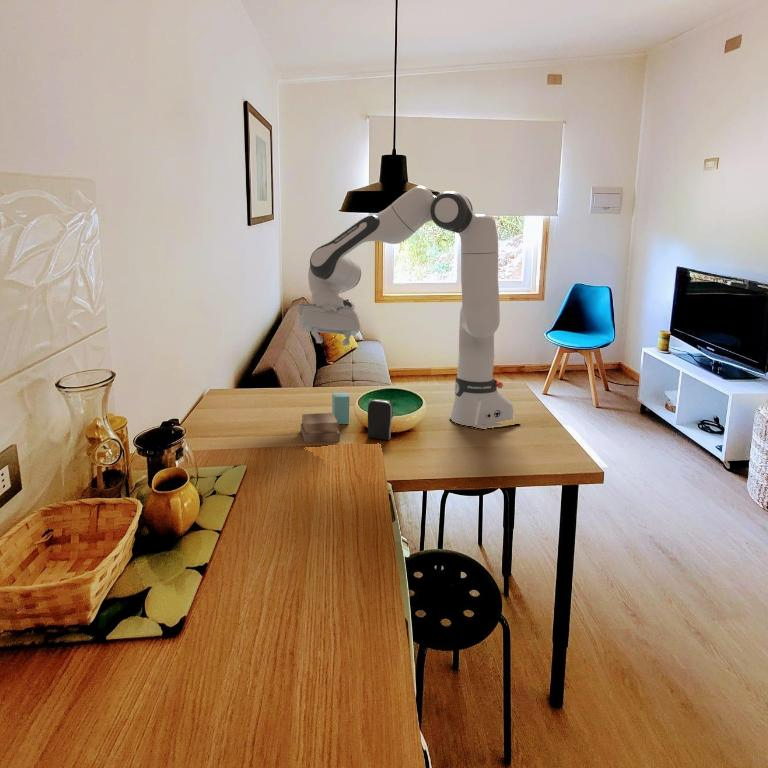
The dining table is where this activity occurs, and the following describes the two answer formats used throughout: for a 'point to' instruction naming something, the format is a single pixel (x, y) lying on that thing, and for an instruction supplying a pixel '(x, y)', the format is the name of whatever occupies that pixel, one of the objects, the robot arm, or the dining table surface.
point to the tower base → (319, 436)
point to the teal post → (340, 407)
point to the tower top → (319, 423)
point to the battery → (380, 419)
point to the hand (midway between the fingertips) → (333, 343)
